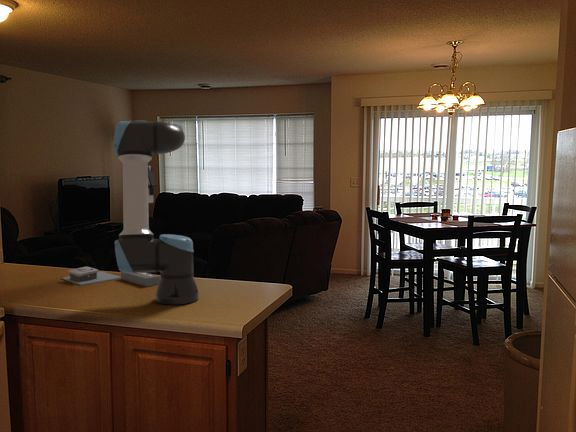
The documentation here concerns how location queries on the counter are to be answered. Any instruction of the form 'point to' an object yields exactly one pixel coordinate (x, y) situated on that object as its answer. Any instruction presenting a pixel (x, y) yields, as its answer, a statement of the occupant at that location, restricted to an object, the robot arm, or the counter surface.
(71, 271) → the electrical switch
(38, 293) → the counter surface
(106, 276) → the mat
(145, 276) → the power strip
